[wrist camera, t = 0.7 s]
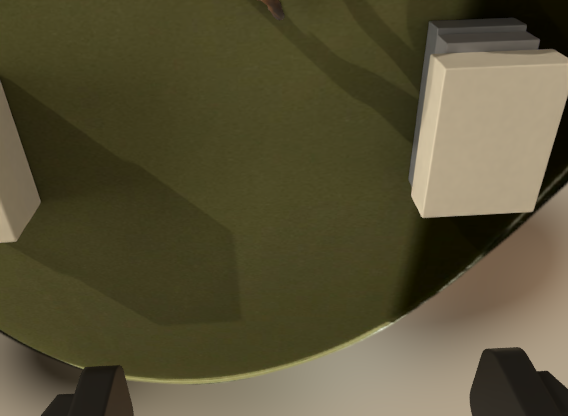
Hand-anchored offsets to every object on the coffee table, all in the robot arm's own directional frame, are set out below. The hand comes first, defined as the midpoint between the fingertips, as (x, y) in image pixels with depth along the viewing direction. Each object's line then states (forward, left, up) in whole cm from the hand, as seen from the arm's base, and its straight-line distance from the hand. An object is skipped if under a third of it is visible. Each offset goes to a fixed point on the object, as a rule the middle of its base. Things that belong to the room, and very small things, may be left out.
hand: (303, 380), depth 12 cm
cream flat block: (+2, +11, -16) cm, 20 cm away
